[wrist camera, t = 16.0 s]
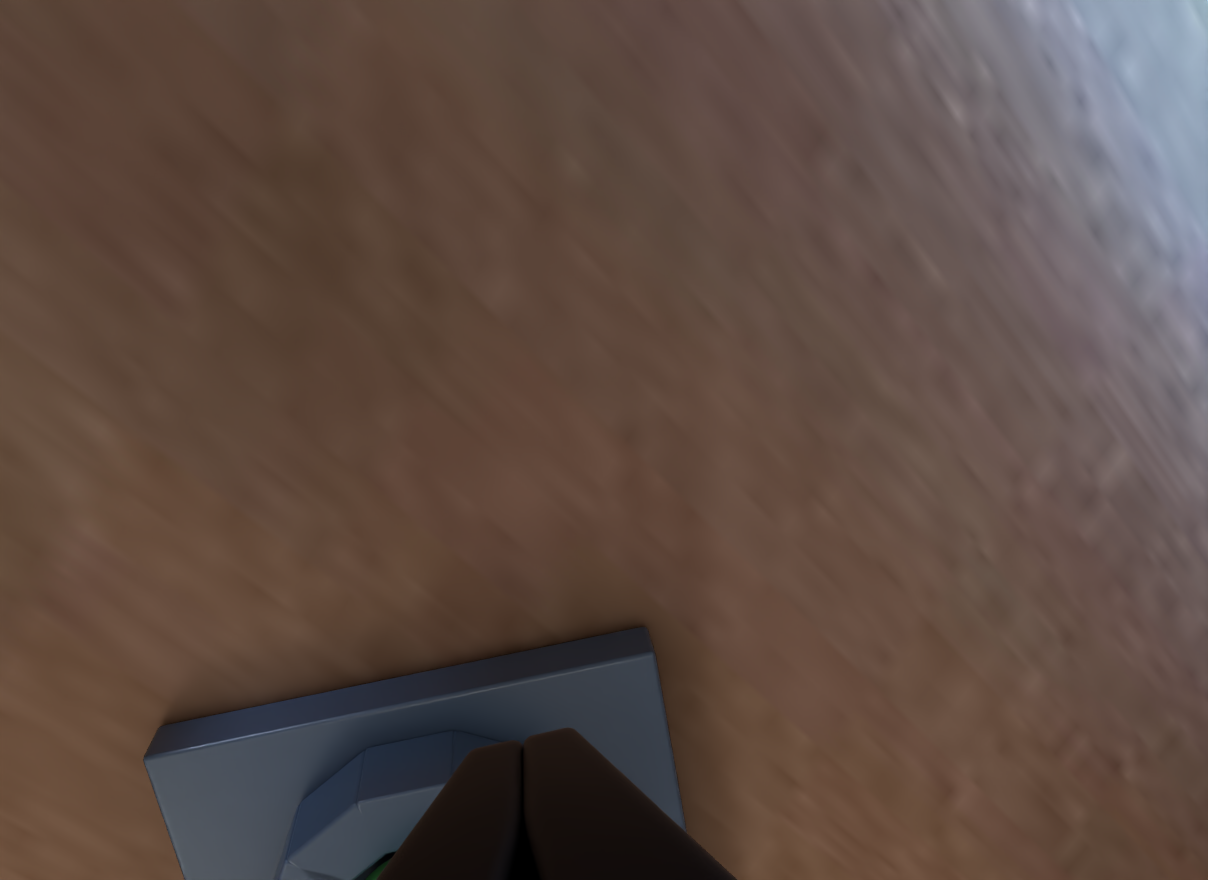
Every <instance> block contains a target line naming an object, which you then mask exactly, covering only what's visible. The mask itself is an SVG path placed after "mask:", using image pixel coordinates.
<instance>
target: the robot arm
mask: <svg viewBox="0 0 1208 880" xmlns="http://www.w3.org/2000/svg"><path fill="white" fill-rule="evenodd" d="M376 880H737V879H736V878H735V877H734V876H733V875H731V874H730V873H729V872H728V871H727V870H726V869H725V868H724V867H723V866H722V865H721V864H720V863H719V862H717V861H716V860H715V859H714V858H713V857H712V856H711V855H710V854H709V853H708V852H707V851H706V850H705V849H703V848H702V847H701V846H700V845H699V844H698V843H697V842H696V841H695V840H694V839H693V838H692V837H691V836H689V835H688V834H687V833H686V832H685V831H684V830H683V829H682V828H681V827H680V826H679V825H678V824H677V823H675V822H674V821H673V820H672V819H671V818H670V817H669V816H668V815H667V814H666V813H665V812H664V811H663V810H661V809H660V808H659V807H658V806H657V805H656V804H655V803H654V802H653V801H652V800H651V799H650V798H649V797H647V796H646V795H645V794H644V793H643V792H642V791H641V790H640V789H639V788H638V787H637V786H636V785H635V784H633V783H632V782H631V781H630V780H629V779H628V778H627V777H626V776H625V775H624V774H623V773H622V772H621V771H619V770H618V769H617V768H616V767H615V766H614V765H613V764H612V763H611V762H610V761H609V760H608V759H607V758H605V757H604V756H603V755H602V754H601V753H600V752H599V751H598V750H597V749H596V748H595V747H594V746H593V745H591V744H590V743H589V742H588V741H587V740H586V739H585V738H584V737H583V736H582V735H581V734H580V733H579V732H577V731H576V730H575V729H573V728H570V727H568V728H562V729H558V730H553V731H549V732H545V733H540V734H536V735H532V736H529V737H528V738H527V739H526V740H525V741H524V744H523V745H522V744H521V743H520V742H519V741H516V740H510V741H506V742H501V743H497V744H493V745H488V746H484V747H480V748H476V749H473V750H472V751H470V752H469V753H468V754H467V756H466V757H465V758H464V760H463V761H462V763H461V764H460V765H459V767H458V768H457V769H456V771H455V772H454V773H453V775H452V776H451V778H450V779H449V780H448V782H447V783H446V784H445V786H444V787H443V789H442V790H441V791H440V793H439V794H438V795H437V797H436V798H435V799H434V801H433V802H432V804H431V805H430V806H429V808H428V809H427V810H426V812H425V813H424V815H423V816H422V817H421V819H420V820H419V821H418V823H417V824H416V825H415V827H414V828H413V830H412V831H411V832H410V834H409V835H408V836H407V838H406V839H405V841H404V842H403V843H402V845H401V846H400V847H399V849H398V850H397V851H396V853H395V854H394V856H393V857H392V858H391V860H390V861H389V862H388V864H387V865H386V867H385V868H384V869H383V871H382V872H381V873H380V875H379V876H378V877H377V879H376Z"/></svg>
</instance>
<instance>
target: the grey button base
mask: <svg viewBox="0 0 1208 880" xmlns="http://www.w3.org/2000/svg"><path fill="white" fill-rule="evenodd" d="M568 727H570V728H573V729H575V730H576V731H577V732H579V733H580V734H581V735H582V736H583V737H584V738H585V739H586V740H587V741H588V742H589V743H590V744H591V745H593V746H594V747H595V748H596V749H597V750H598V751H599V752H600V753H601V754H602V755H603V756H604V757H605V758H607V759H608V760H609V761H610V762H611V763H612V764H613V765H614V766H615V767H616V768H617V769H618V770H619V771H621V772H622V773H623V774H624V775H625V776H626V777H627V778H628V779H629V780H630V781H631V782H632V783H633V784H635V785H636V786H637V787H638V788H639V789H640V790H641V791H642V792H643V793H644V794H645V795H646V796H647V797H649V798H650V799H651V800H652V801H653V802H654V803H655V804H656V805H657V806H658V807H659V808H660V809H661V810H663V811H664V812H665V813H666V814H667V815H668V816H669V817H670V818H671V819H672V820H673V821H674V822H675V823H677V824H678V825H679V826H680V827H681V828H682V829H683V830H684V831H685V832H686V833H687V830H686V824H685V819H684V813H683V807H682V802H681V796H680V790H679V785H678V779H677V773H676V768H675V762H674V756H673V751H672V745H671V739H670V734H669V728H668V722H667V717H666V711H665V705H664V700H663V694H662V688H661V683H660V677H659V671H658V666H657V660H656V654H655V651H654V648H653V645H652V641H651V638H650V635H649V632H648V630H647V628H646V627H639V628H634V629H629V630H625V631H620V632H615V633H610V634H605V635H600V636H595V637H591V638H586V639H581V640H576V641H571V642H566V643H562V644H557V645H552V646H547V647H542V648H537V649H533V650H528V651H523V652H518V653H513V654H508V655H503V656H499V657H494V658H489V659H484V660H479V661H474V662H470V663H465V664H460V665H455V666H450V667H445V668H440V669H436V670H431V671H426V672H421V673H416V674H411V675H407V676H402V677H397V678H392V679H387V680H382V681H377V682H373V683H368V684H363V685H358V686H353V687H348V688H344V689H339V690H334V691H329V692H324V693H319V694H314V695H310V696H305V697H300V698H295V699H290V700H285V701H281V702H276V703H271V704H266V705H261V706H256V707H251V708H247V709H242V710H237V711H232V712H227V713H222V714H218V715H213V716H208V717H203V718H198V719H193V720H188V721H184V722H179V723H174V724H169V725H164V726H161V727H159V728H158V730H157V732H156V734H155V736H154V738H153V740H152V741H151V743H150V745H149V747H148V749H147V751H146V753H145V755H144V759H143V761H144V764H145V767H146V770H147V772H148V775H149V778H150V781H151V784H152V787H153V790H154V793H155V795H156V798H157V801H158V804H159V807H160V810H161V813H162V816H163V819H164V821H165V824H166V827H167V830H168V833H169V836H170V839H171V842H172V844H173V847H174V850H175V853H176V856H177V859H178V862H179V865H180V867H181V870H182V873H183V876H184V879H185V880H366V878H367V877H368V876H369V875H370V874H371V873H372V872H373V871H374V870H375V869H377V868H378V867H379V866H380V865H382V864H383V863H385V862H386V861H387V860H389V859H391V858H392V857H393V856H394V854H395V853H396V851H397V850H398V849H399V847H400V846H401V845H402V843H403V842H404V841H405V839H406V838H407V836H408V835H409V834H410V832H411V831H412V830H413V828H414V827H415V825H416V824H417V823H418V821H419V820H420V819H421V817H422V816H423V815H424V813H425V812H426V810H427V809H428V808H429V806H430V805H431V804H432V802H433V801H434V799H435V798H436V797H437V795H438V794H439V793H440V791H441V790H442V789H443V787H444V786H445V784H446V783H447V782H448V780H449V779H450V778H451V776H452V775H453V773H454V772H455V771H456V769H457V768H458V767H459V765H460V764H461V763H462V761H463V760H464V758H465V757H466V756H467V754H468V753H469V752H470V751H472V750H473V749H476V748H480V747H484V746H488V745H493V744H497V743H501V742H506V741H510V740H516V741H519V742H520V743H521V744H522V745H523V744H524V741H525V740H526V739H527V738H528V737H529V736H532V735H536V734H540V733H545V732H549V731H553V730H558V729H562V728H568Z"/></svg>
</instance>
